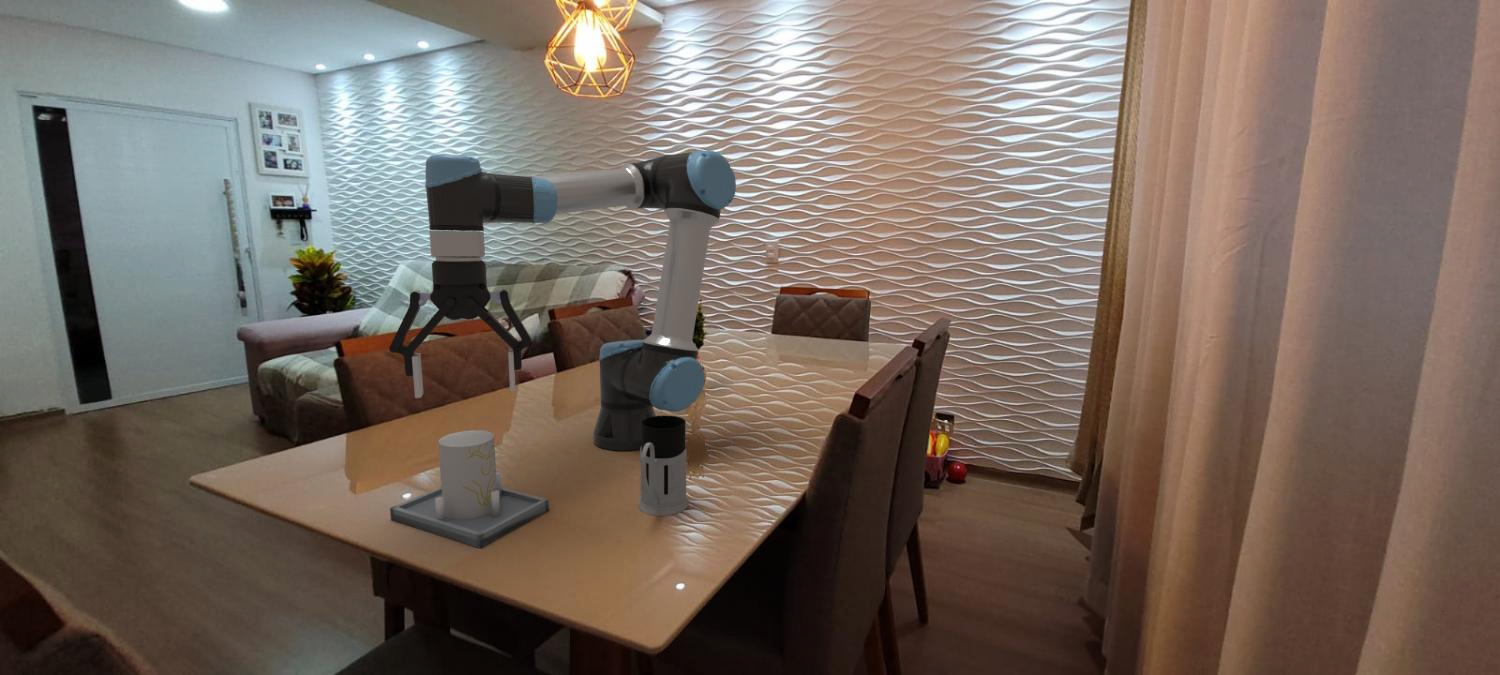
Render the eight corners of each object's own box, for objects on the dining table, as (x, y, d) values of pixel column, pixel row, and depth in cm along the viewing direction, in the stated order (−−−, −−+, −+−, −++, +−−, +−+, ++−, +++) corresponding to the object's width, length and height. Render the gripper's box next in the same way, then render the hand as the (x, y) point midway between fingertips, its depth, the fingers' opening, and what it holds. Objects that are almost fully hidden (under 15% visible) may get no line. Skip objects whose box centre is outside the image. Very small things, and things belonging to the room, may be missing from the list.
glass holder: (694, 496, 106) (695, 416, 104) (669, 534, 92) (669, 442, 90) (648, 491, 108) (648, 412, 105) (617, 528, 94) (616, 438, 92)
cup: (476, 522, 92) (472, 449, 90) (431, 516, 94) (426, 444, 92) (507, 500, 100) (504, 432, 98) (465, 495, 102) (461, 428, 100)
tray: (548, 510, 100) (547, 481, 99) (480, 548, 87) (478, 515, 86) (464, 487, 108) (463, 460, 107) (390, 519, 95) (388, 489, 94)
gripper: (543, 258, 99) (548, 381, 102) (371, 258, 90) (382, 392, 94) (544, 260, 92) (550, 392, 95) (358, 259, 83) (371, 405, 87)
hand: (467, 392), depth 95 cm, fingers open, 13 cm apart
